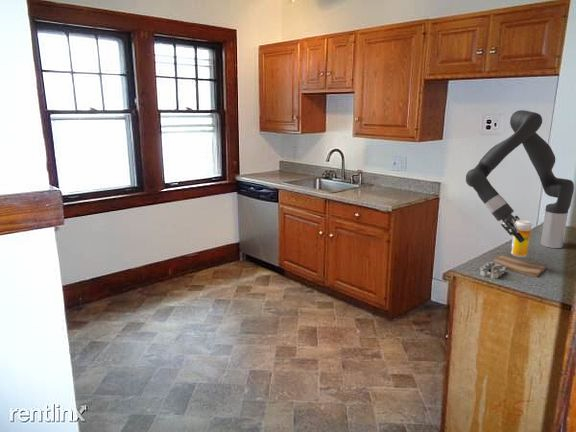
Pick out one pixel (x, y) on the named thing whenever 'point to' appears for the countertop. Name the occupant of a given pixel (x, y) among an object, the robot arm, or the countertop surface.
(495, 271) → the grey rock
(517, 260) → the walnut board
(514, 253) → the beer glass
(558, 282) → the countertop surface
